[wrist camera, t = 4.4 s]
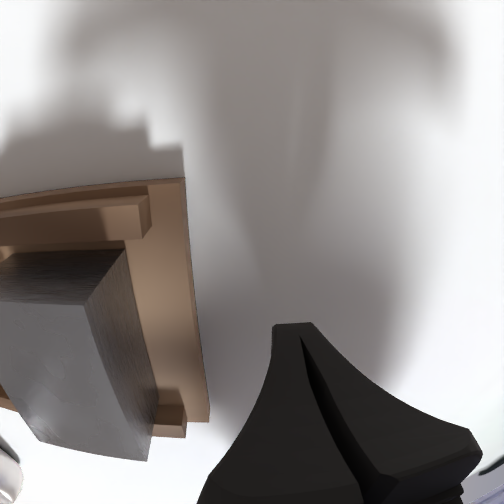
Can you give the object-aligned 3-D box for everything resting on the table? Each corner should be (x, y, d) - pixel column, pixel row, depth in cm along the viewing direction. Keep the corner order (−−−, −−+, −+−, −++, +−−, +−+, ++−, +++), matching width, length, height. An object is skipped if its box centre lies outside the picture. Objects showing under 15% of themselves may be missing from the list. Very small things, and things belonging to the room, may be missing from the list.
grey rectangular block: (159, 396, 13) (147, 461, 9) (64, 386, 12) (39, 440, 9) (125, 248, 10) (83, 305, 7) (13, 253, 10) (-41, 298, 6)
